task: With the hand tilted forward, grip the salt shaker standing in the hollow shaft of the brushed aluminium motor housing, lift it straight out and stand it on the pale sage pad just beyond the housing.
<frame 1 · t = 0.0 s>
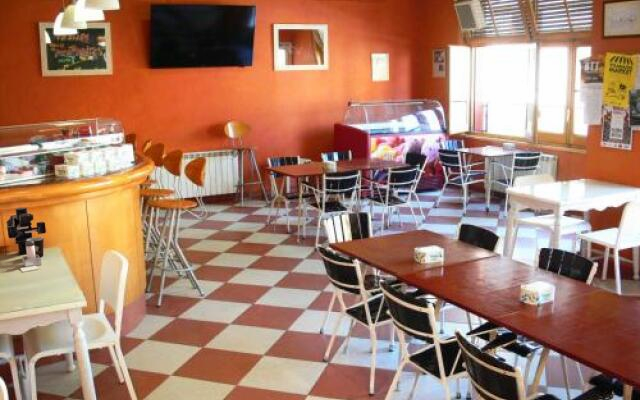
hand: (29, 232, 348), 17 cm above the table, tool horizontal, fingers open, 9 cm apart
coffee mug: (34, 257, 363), on the table
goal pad: (29, 269, 340), on the table
salt shaker: (30, 253, 347), in the motor housing
motor housing: (32, 264, 348), on the table
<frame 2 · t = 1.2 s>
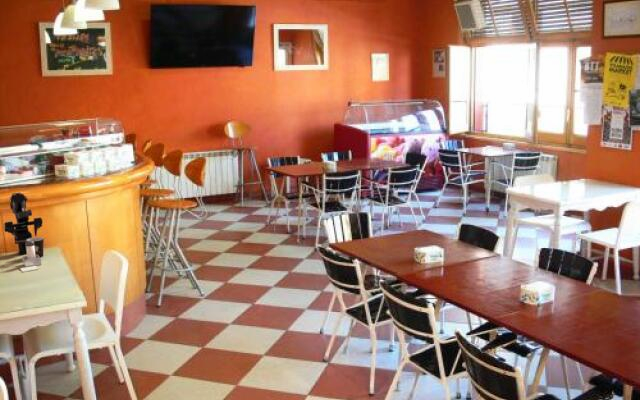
hand: (26, 237, 351), 13 cm above the table, tool tilted 45°, fingers open, 9 cm apart
nothing on the table moved.
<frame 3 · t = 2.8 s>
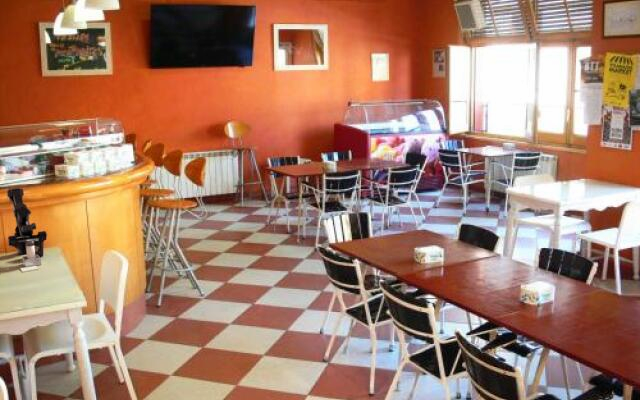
hand: (31, 251, 346), 7 cm above the table, tool tilted 45°, fingers open, 9 cm apart
nothing on the table moved.
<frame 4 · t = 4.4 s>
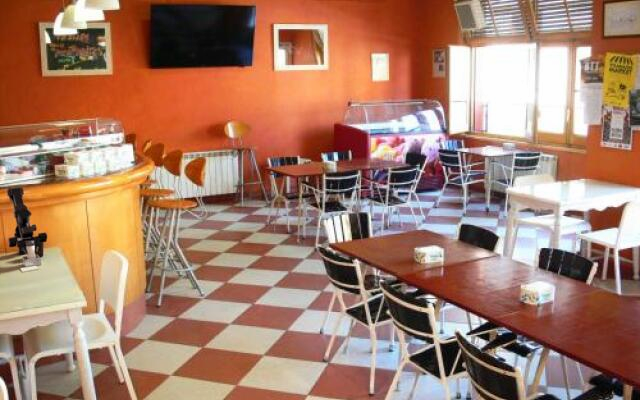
hand: (31, 253, 346), 7 cm above the table, tool tilted 45°, fingers closed on salt shaker, 4 cm apart
salt shaker: (30, 253, 347), in the motor housing, touching gripper
everything else where it was.
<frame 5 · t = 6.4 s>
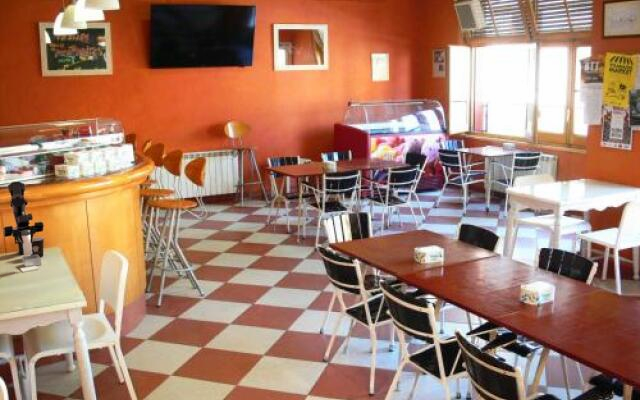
hand: (27, 242, 337), 14 cm above the table, tool tilted 45°, fingers closed on salt shaker, 4 cm apart
salt shaker: (26, 242, 339), point 14 cm above the table, touching gripper
everything else where it was.
when the fingers open (8 cm above the table, at t = 8.6 s): salt shaker stays where it is, resting on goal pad.
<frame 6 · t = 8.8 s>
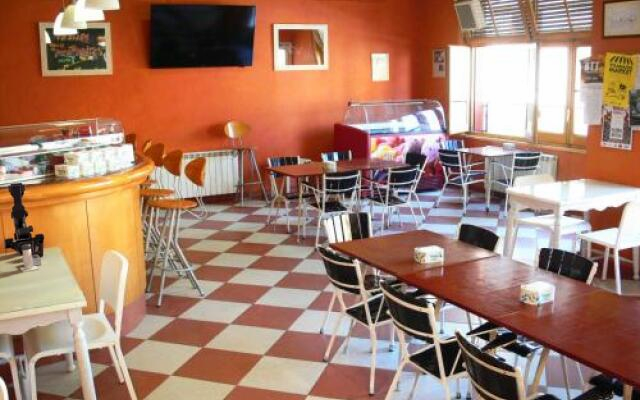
hand: (27, 254, 337), 8 cm above the table, tool tilted 45°, fingers open, 6 cm apart
salt shaker: (27, 256, 339), on the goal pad
everything else where it was.
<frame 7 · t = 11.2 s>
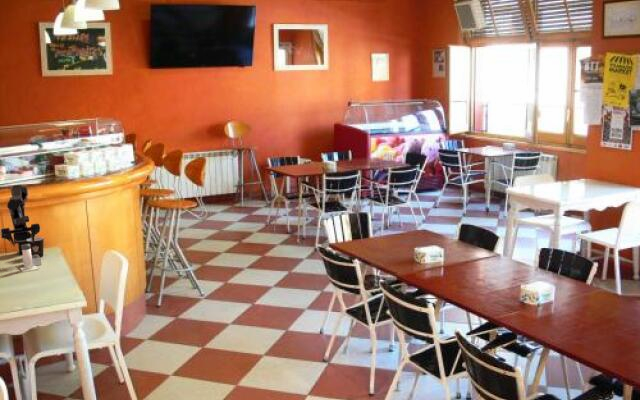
hand: (23, 244, 344), 12 cm above the table, tool tilted 45°, fingers open, 9 cm apart
nothing on the table moved.
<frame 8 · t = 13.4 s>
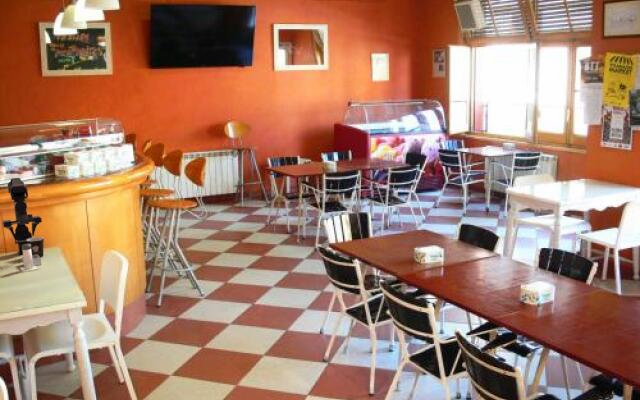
hand: (23, 237, 353), 13 cm above the table, tool pointing down, fingers open, 9 cm apart
nothing on the table moved.
at the end: salt shaker 0.0 cm from the target spot, resting on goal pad; salt shaker tilted 1°; the gripper is holding nothing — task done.
